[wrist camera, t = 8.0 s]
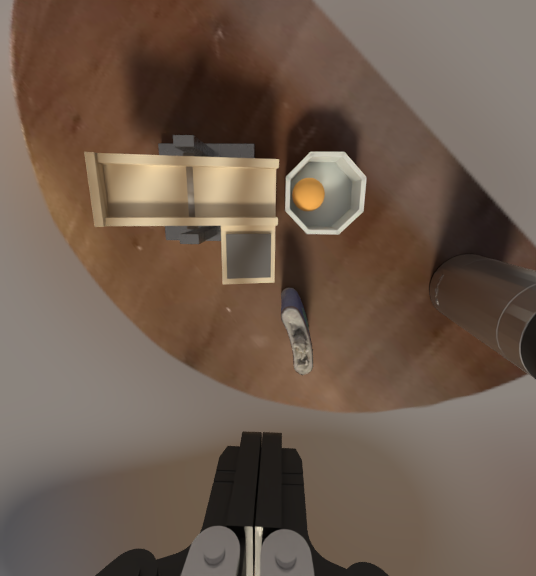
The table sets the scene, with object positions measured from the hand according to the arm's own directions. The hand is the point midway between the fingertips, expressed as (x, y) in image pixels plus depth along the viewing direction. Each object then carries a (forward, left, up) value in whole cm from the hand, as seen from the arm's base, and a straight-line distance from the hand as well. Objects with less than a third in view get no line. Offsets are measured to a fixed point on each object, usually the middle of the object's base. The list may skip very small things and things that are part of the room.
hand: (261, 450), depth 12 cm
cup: (-6, -10, -33) cm, 35 cm away
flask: (-3, +7, -33) cm, 34 cm away
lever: (+9, -7, -25) cm, 27 cm away
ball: (-4, -10, -30) cm, 32 cm away
